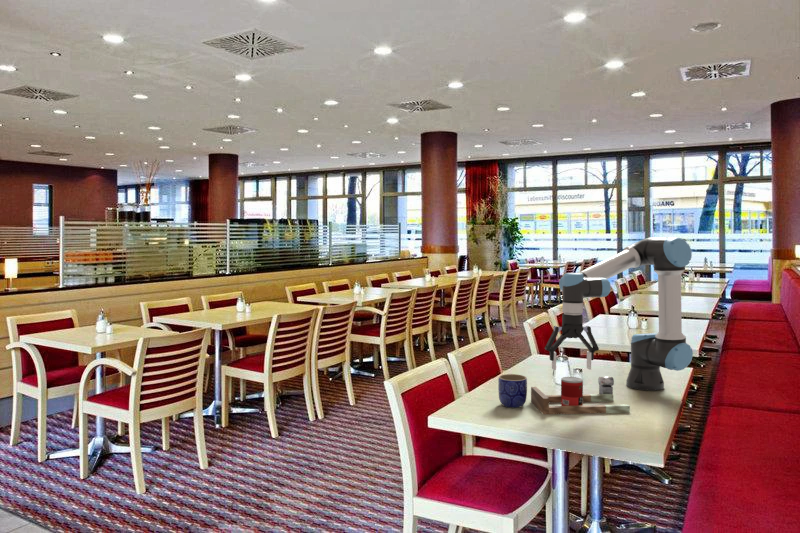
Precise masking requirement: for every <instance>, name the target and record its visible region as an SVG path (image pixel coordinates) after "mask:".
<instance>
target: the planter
mask: <svg viewBox="0 0 800 533" xmlns="http://www.w3.org/2000/svg"><path fill="white" fill-rule="evenodd" d="M497 382H498V383H497V384H498V386H497V387H498V391H497V392H498V398H499V402H500V404H501V405H502V406H503V407H506V408H510V409H518V408H521V407H523V406H524V405H525V403H526V402H527V394H528V378H527V376H525V375H523V374H513V373H506V374H501V375H499V376H498V380H497Z"/></svg>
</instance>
